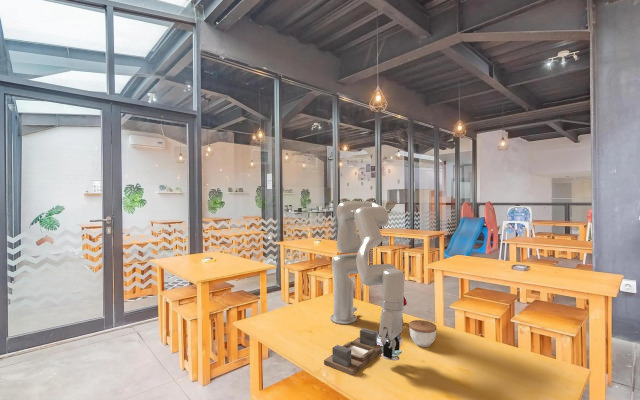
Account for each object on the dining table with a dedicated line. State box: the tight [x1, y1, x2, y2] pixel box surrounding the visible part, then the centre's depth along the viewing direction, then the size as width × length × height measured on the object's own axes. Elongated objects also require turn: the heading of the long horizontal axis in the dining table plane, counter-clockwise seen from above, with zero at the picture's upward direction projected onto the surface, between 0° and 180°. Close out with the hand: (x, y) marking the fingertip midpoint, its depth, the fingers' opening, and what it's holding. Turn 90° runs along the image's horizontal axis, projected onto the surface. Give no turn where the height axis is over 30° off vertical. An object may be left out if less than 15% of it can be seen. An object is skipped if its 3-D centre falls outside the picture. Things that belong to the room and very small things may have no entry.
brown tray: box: [323, 327, 383, 376], centre depth 125 cm, size 24×12×6 cm, turn 143°
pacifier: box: [380, 339, 403, 361], centre depth 118 cm, size 7×6×6 cm
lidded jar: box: [408, 319, 438, 348], centre depth 136 cm, size 11×11×9 cm
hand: (391, 353), depth 119 cm, fingers closed on pacifier, 5 cm apart
